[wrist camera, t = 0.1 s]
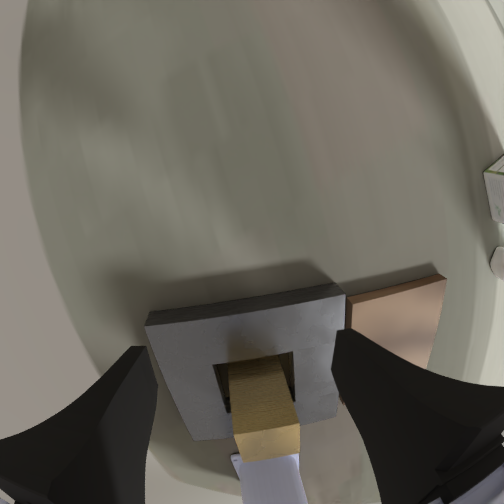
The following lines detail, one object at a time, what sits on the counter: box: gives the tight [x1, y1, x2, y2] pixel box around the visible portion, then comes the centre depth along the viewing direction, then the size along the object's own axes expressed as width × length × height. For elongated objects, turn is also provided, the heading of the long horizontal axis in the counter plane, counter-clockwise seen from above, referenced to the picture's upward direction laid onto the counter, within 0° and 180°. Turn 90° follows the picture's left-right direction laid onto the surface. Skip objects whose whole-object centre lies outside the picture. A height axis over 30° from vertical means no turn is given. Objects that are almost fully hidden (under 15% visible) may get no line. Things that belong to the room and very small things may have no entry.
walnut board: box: [339, 274, 447, 405], centre depth 23 cm, size 12×10×1 cm
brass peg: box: [227, 354, 300, 463], centre depth 19 cm, size 4×4×8 cm
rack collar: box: [144, 283, 345, 441], centre depth 22 cm, size 14×14×2 cm
